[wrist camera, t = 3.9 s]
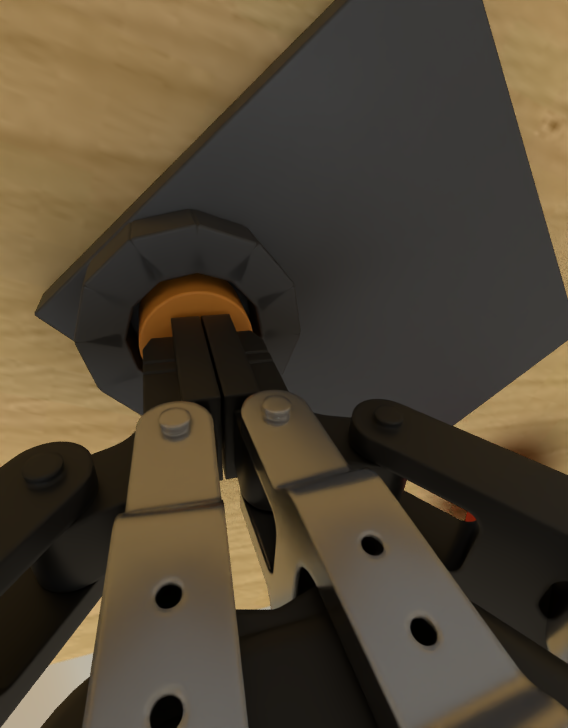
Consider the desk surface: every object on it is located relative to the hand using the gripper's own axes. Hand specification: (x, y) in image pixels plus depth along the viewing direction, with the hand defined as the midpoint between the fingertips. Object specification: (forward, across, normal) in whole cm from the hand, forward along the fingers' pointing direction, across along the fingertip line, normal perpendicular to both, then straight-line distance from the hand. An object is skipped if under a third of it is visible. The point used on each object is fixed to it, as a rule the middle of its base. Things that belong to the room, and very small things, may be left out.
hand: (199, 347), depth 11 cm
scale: (+3, -6, +1) cm, 7 cm away
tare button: (+2, 0, 0) cm, 2 cm away
